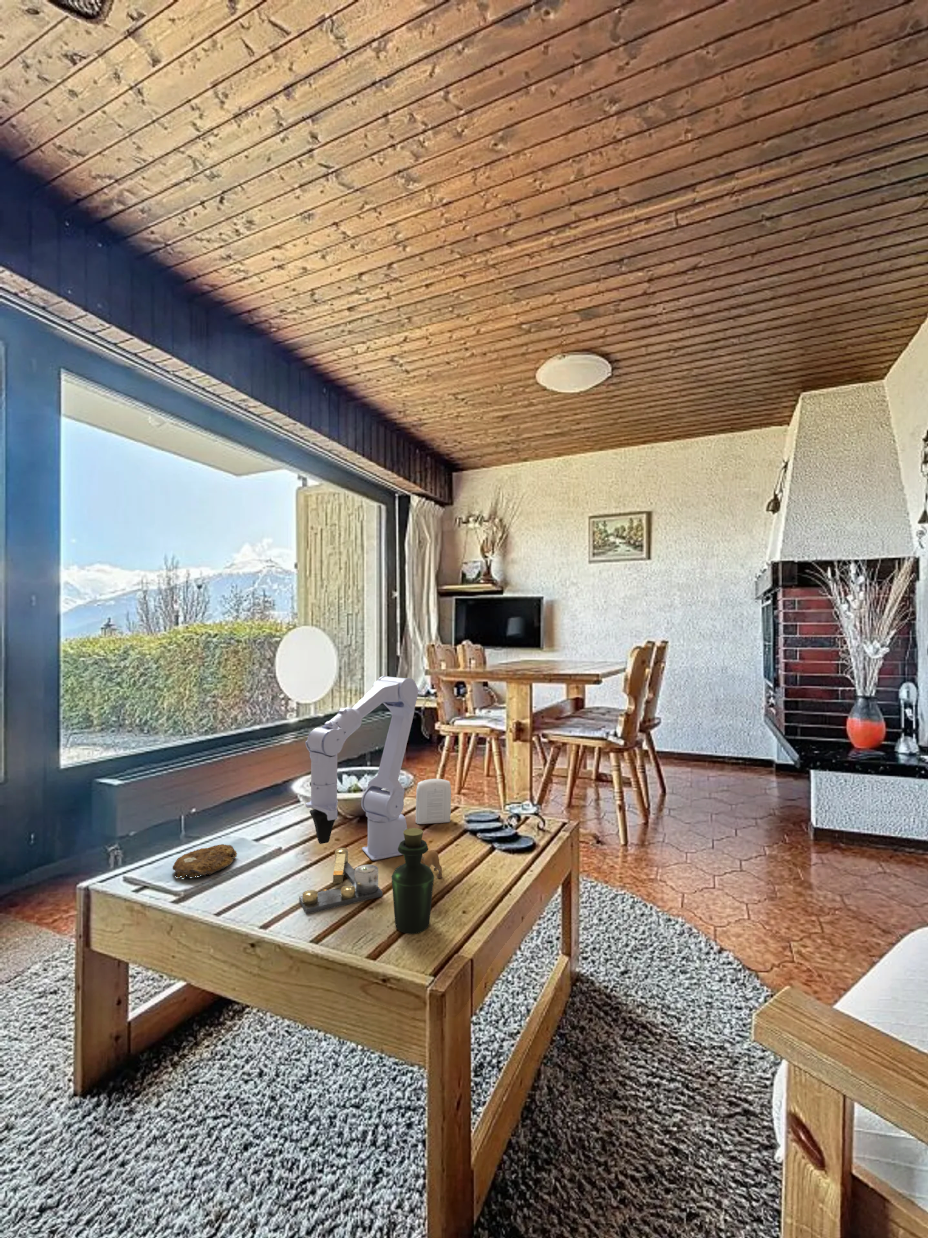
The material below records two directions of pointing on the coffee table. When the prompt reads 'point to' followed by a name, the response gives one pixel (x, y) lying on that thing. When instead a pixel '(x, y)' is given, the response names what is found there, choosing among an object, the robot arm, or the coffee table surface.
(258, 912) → the coffee table surface
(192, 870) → the decorative rock
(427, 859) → the lion figurine
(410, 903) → the potion bottle
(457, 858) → the coffee table surface
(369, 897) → the levelling base
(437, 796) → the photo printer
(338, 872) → the lever
